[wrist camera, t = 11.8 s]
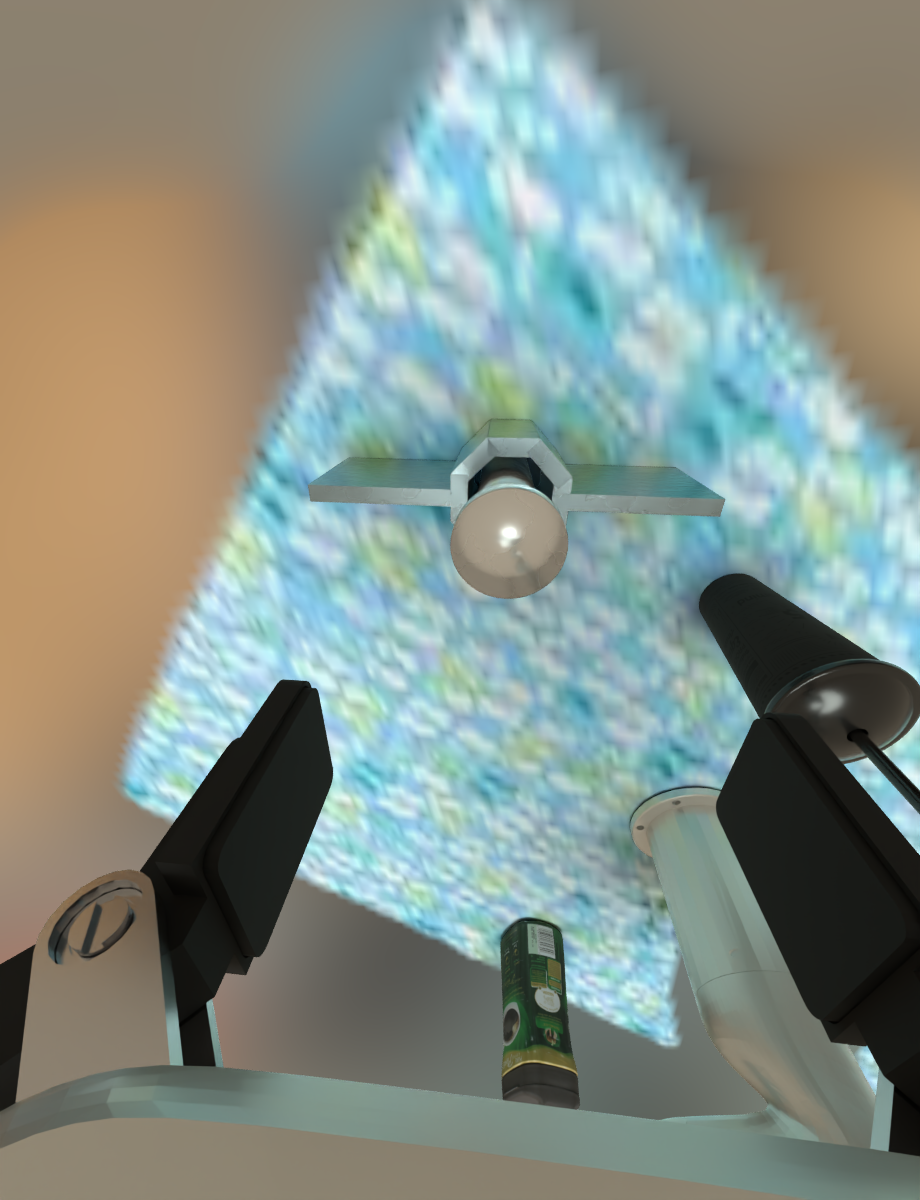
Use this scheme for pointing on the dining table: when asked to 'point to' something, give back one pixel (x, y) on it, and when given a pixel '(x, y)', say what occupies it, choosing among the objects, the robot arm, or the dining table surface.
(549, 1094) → the coffee jar
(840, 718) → the drinking cup
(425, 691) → the dining table surface
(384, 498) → the hinge
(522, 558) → the hinge pin
